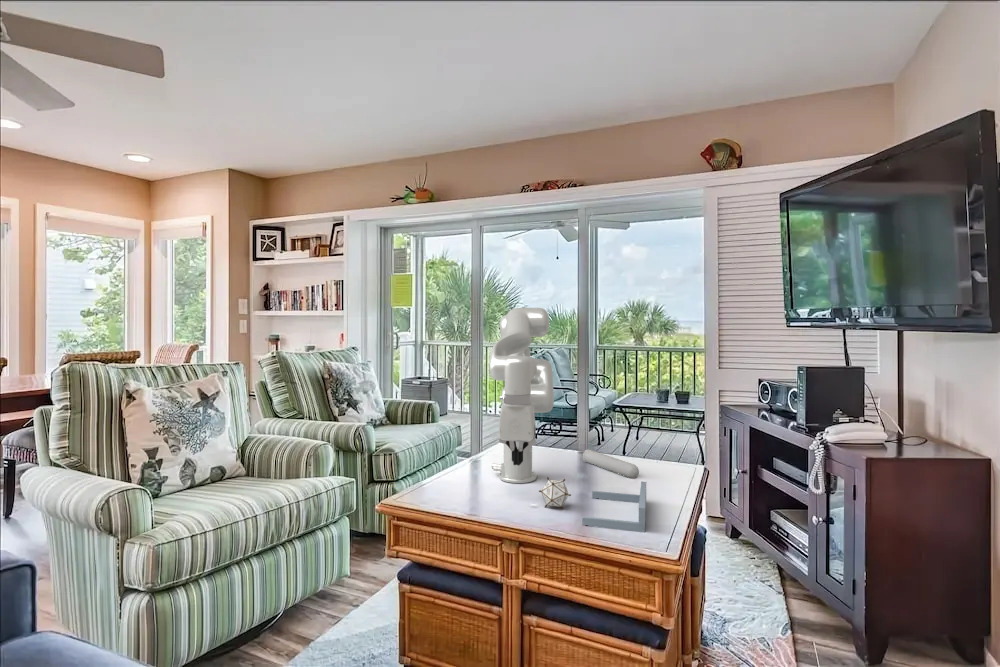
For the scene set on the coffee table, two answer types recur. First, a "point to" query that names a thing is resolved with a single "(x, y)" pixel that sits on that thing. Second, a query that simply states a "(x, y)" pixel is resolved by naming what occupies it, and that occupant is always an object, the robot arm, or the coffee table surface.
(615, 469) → the tube
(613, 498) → the tray
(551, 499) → the game die
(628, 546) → the coffee table surface
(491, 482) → the coffee table surface
